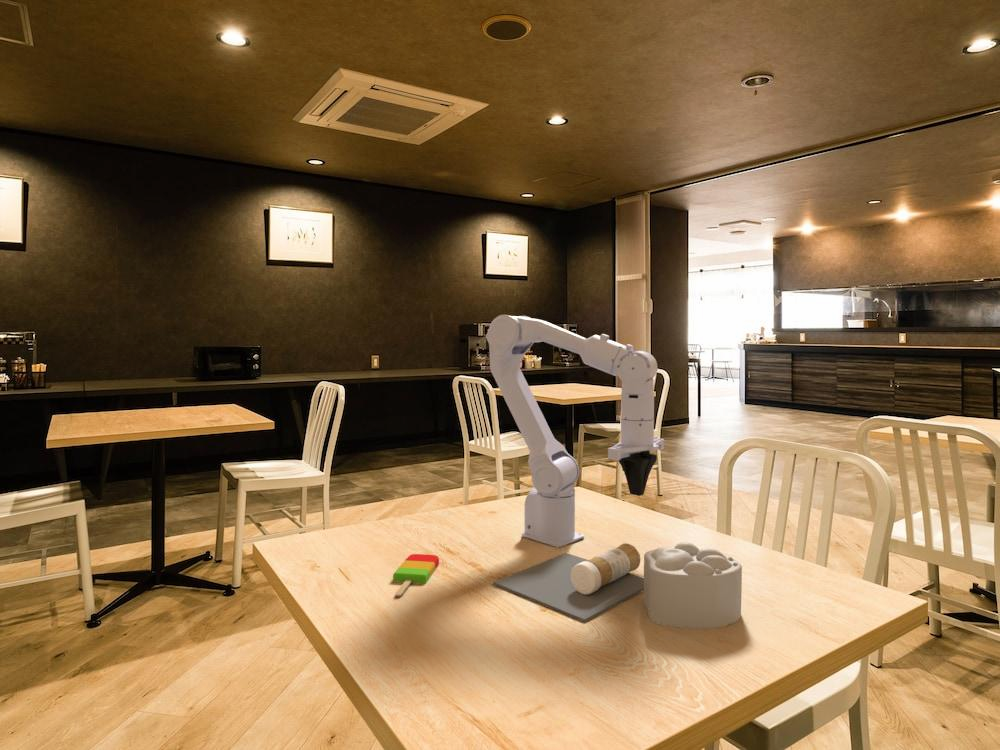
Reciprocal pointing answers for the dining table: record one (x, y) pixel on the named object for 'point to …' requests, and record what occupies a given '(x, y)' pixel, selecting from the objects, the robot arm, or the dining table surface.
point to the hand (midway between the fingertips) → (636, 494)
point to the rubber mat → (569, 588)
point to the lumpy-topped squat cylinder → (692, 587)
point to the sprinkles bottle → (604, 568)
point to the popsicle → (415, 570)
